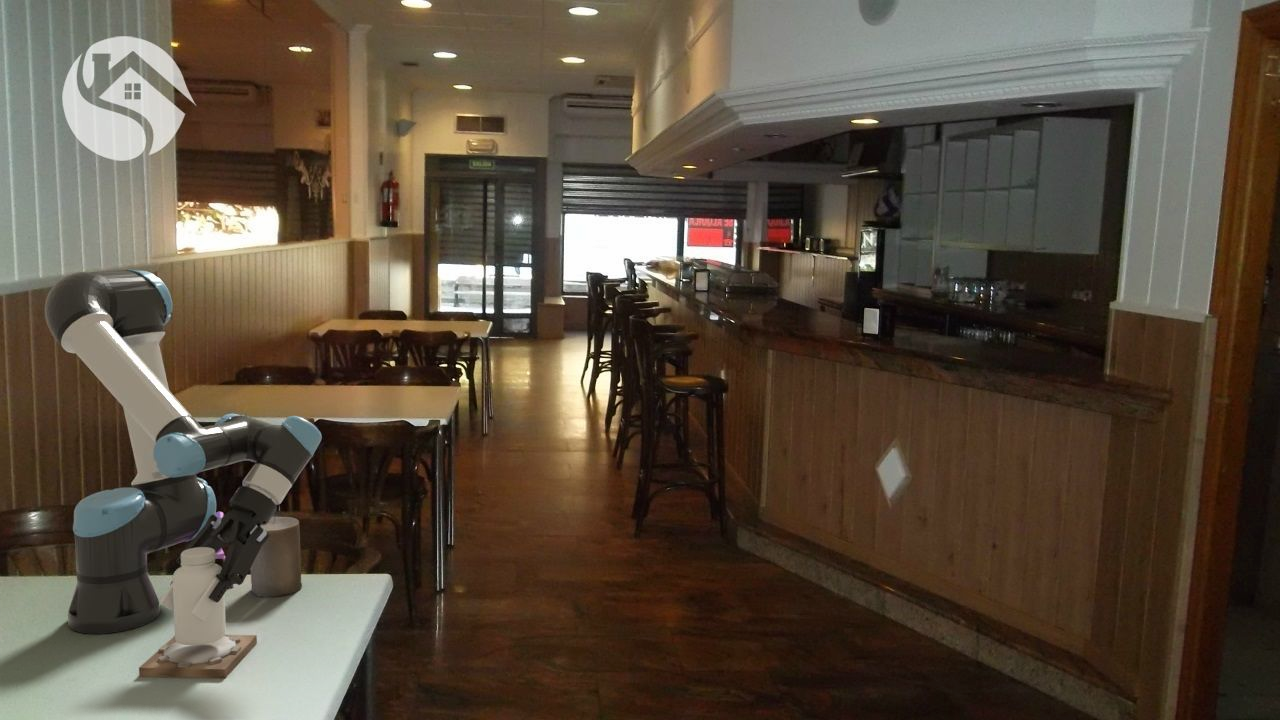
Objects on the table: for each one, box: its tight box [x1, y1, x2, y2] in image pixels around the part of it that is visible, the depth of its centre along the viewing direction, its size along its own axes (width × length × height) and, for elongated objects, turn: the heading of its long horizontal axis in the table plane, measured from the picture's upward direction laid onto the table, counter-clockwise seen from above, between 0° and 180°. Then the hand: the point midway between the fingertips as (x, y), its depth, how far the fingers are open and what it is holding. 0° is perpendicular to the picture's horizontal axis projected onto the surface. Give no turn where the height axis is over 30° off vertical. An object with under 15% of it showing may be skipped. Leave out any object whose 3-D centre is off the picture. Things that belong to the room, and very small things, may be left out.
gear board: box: [138, 634, 258, 679], centre depth 177 cm, size 14×14×2 cm
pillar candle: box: [250, 516, 303, 598], centre depth 209 cm, size 10×10×15 cm
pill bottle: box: [172, 547, 227, 645], centre depth 175 cm, size 8×8×15 cm
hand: (181, 611), depth 172 cm, fingers closed on pill bottle, 8 cm apart
